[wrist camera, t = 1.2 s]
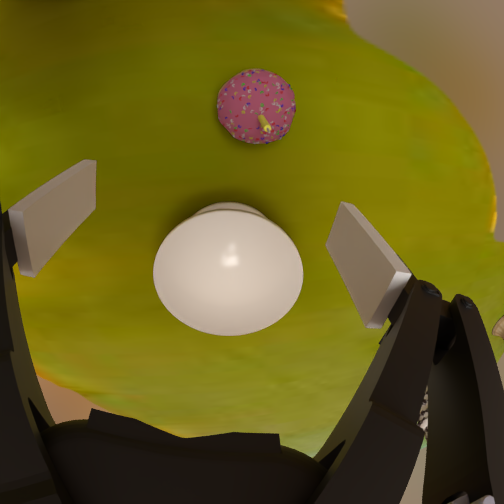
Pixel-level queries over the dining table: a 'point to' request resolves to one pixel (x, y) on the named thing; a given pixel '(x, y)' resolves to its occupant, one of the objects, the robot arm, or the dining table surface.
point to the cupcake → (256, 106)
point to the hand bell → (499, 328)
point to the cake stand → (228, 270)
